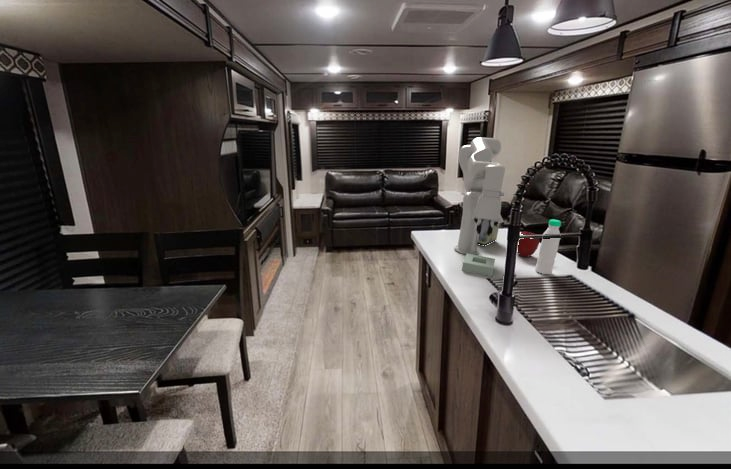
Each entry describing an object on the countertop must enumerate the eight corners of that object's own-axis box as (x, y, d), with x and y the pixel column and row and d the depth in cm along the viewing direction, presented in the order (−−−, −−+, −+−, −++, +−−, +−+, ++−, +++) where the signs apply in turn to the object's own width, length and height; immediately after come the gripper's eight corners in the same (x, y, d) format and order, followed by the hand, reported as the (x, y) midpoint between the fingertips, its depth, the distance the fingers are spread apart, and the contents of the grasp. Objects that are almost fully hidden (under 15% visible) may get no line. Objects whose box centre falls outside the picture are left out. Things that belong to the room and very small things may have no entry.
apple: (508, 250, 184) (513, 227, 180) (530, 252, 183) (536, 229, 179) (515, 258, 172) (521, 233, 168) (539, 260, 171) (545, 235, 167)
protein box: (467, 241, 194) (471, 215, 189) (479, 237, 205) (484, 212, 200) (484, 246, 187) (489, 219, 182) (496, 241, 198) (501, 215, 193)
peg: (478, 238, 155) (482, 215, 151) (487, 240, 153) (491, 216, 150) (477, 240, 151) (481, 217, 148) (486, 242, 150) (491, 218, 146)
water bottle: (542, 268, 161) (554, 217, 154) (555, 274, 155) (568, 222, 148) (531, 269, 159) (543, 218, 151) (543, 276, 152) (556, 222, 145)
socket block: (465, 261, 164) (466, 253, 163) (493, 266, 160) (495, 258, 159) (461, 270, 153) (462, 262, 152) (491, 276, 148) (493, 268, 147)
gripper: (512, 195, 146) (503, 235, 152) (472, 189, 152) (465, 228, 158) (511, 198, 139) (503, 240, 145) (469, 192, 145) (463, 232, 151)
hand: (483, 233), depth 151 cm, fingers closed on peg, 4 cm apart
